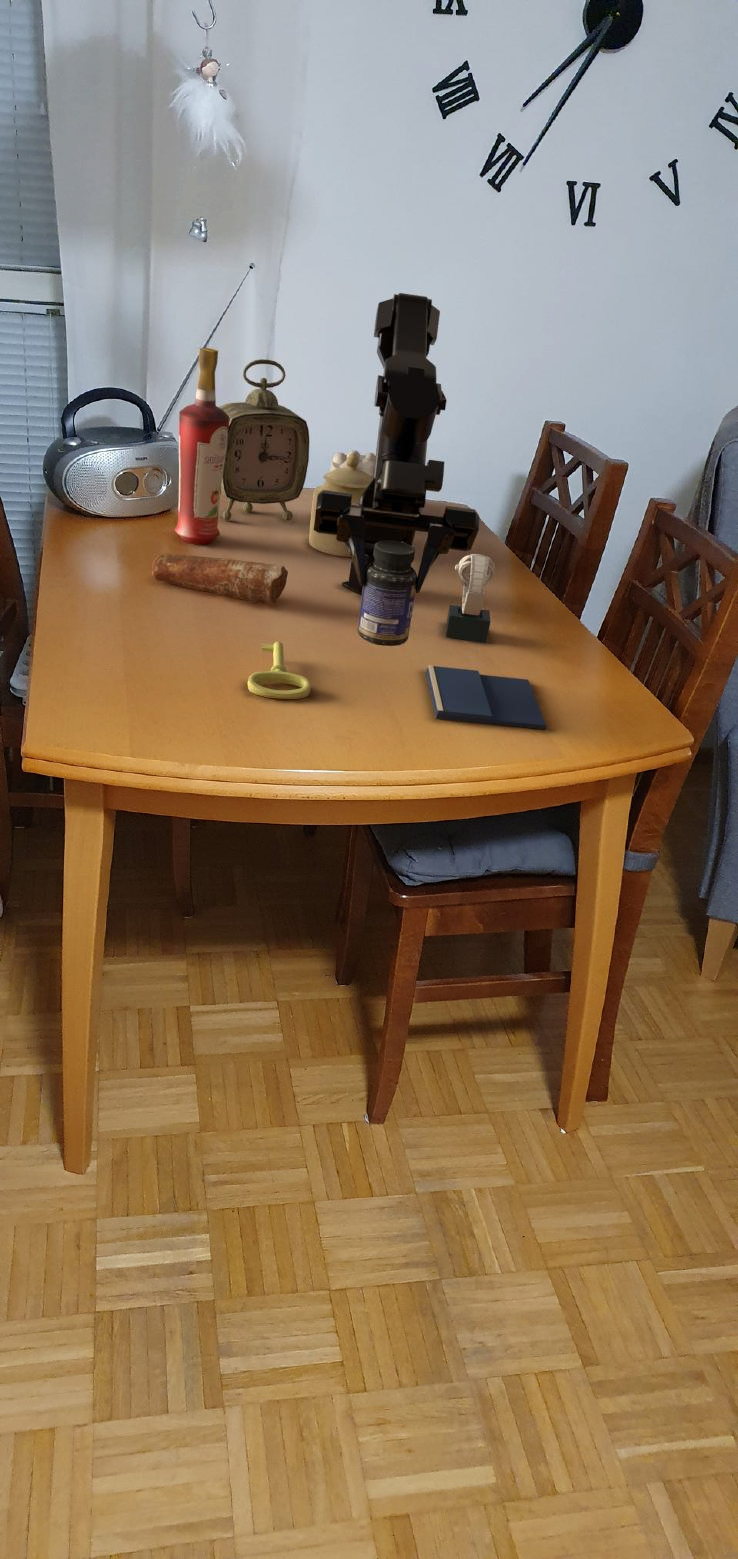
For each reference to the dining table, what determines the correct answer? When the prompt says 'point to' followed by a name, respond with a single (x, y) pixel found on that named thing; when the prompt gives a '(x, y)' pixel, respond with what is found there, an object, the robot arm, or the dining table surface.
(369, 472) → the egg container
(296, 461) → the tabletop clock
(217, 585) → the brown rough cylinder
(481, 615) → the watch
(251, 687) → the key
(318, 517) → the robot arm
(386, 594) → the pill bottle
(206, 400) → the liquor
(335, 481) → the sugar bowl
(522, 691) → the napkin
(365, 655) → the dining table surface
